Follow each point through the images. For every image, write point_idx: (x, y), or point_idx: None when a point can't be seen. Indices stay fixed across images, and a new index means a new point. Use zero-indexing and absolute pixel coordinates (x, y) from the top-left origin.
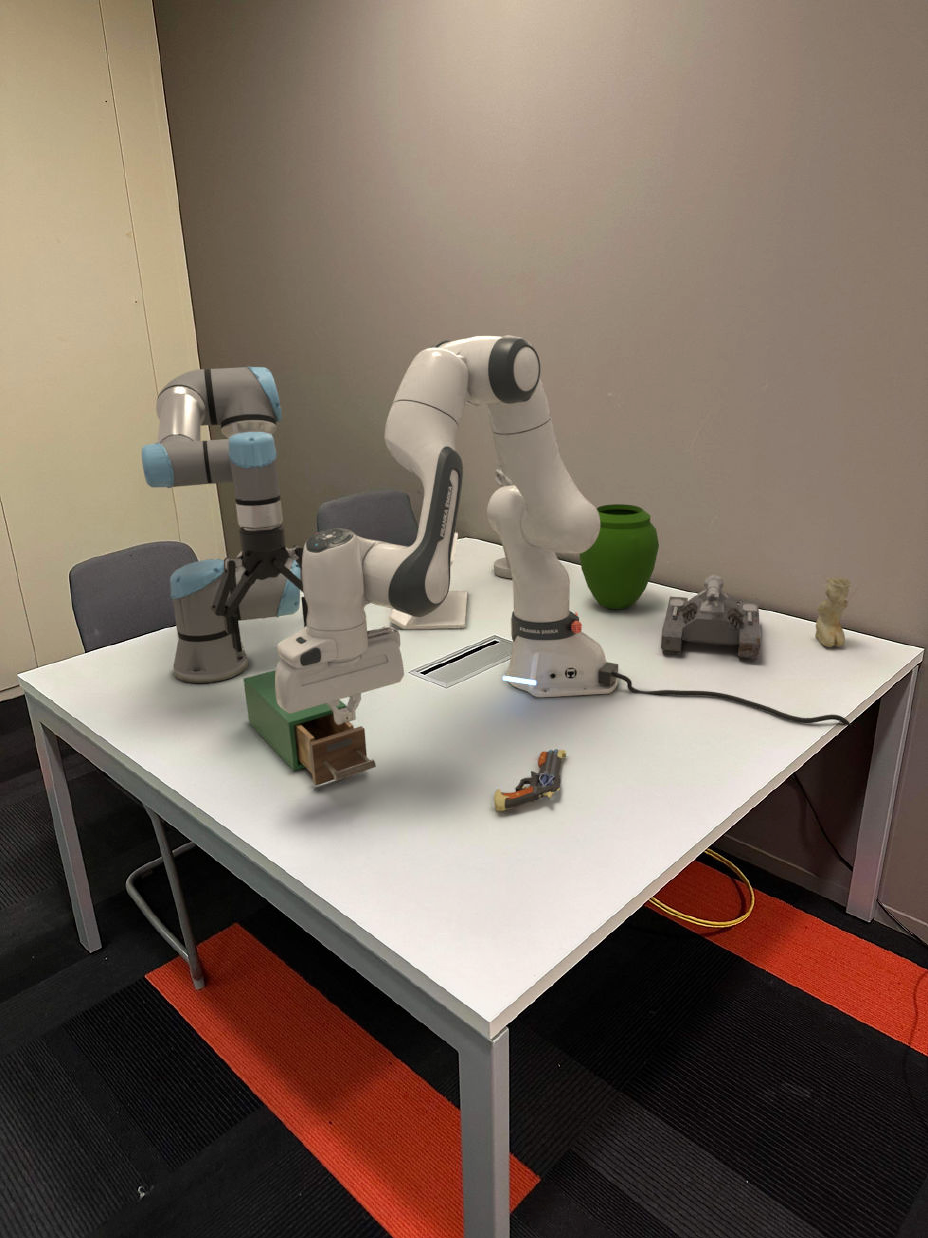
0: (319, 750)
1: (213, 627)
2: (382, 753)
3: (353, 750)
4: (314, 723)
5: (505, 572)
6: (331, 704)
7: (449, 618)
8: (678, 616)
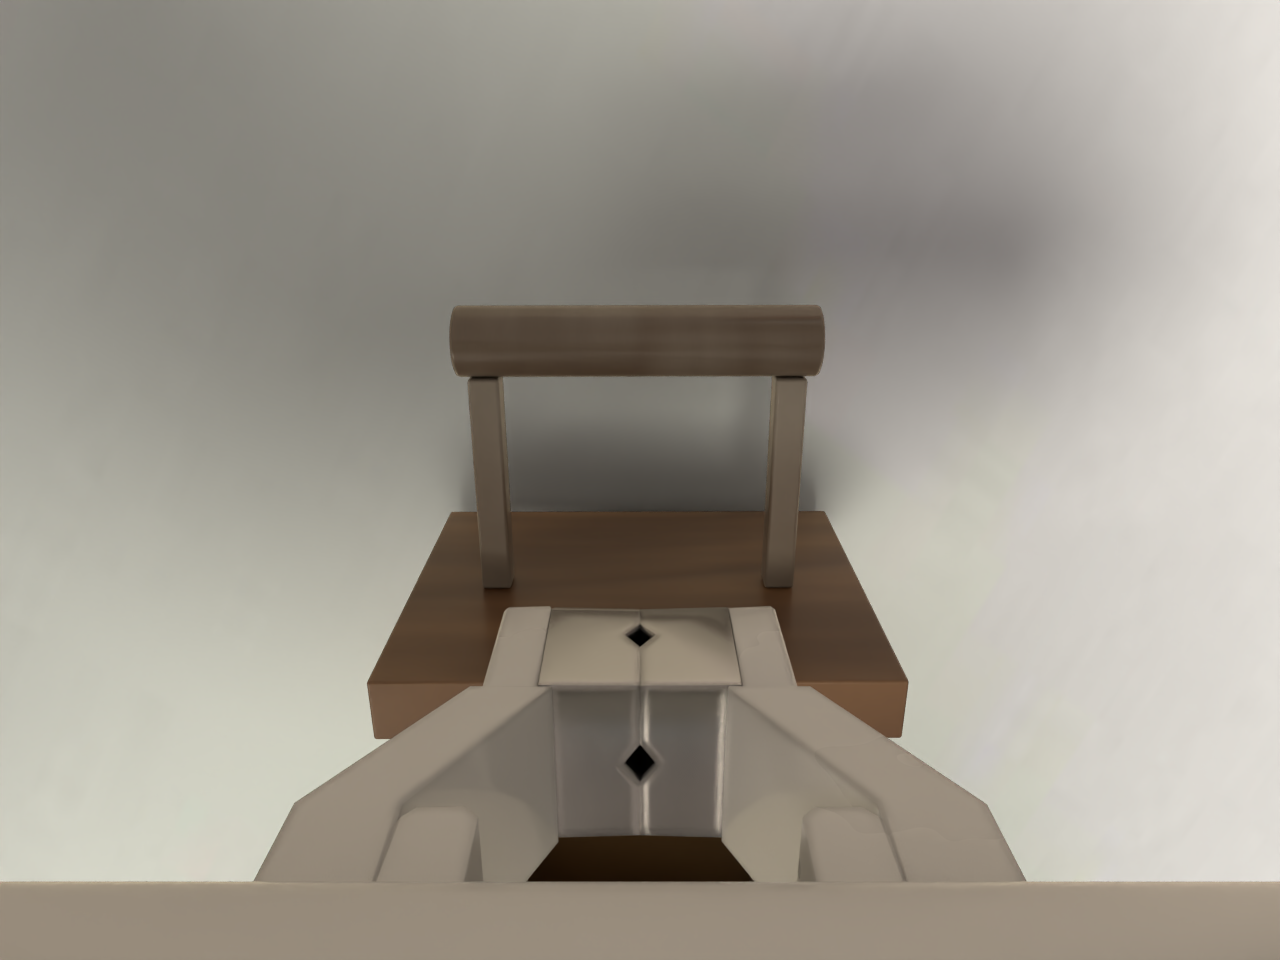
0: (824, 641)
1: None
2: (287, 644)
3: (523, 590)
4: None
5: None
6: (1004, 857)
7: None
8: None
